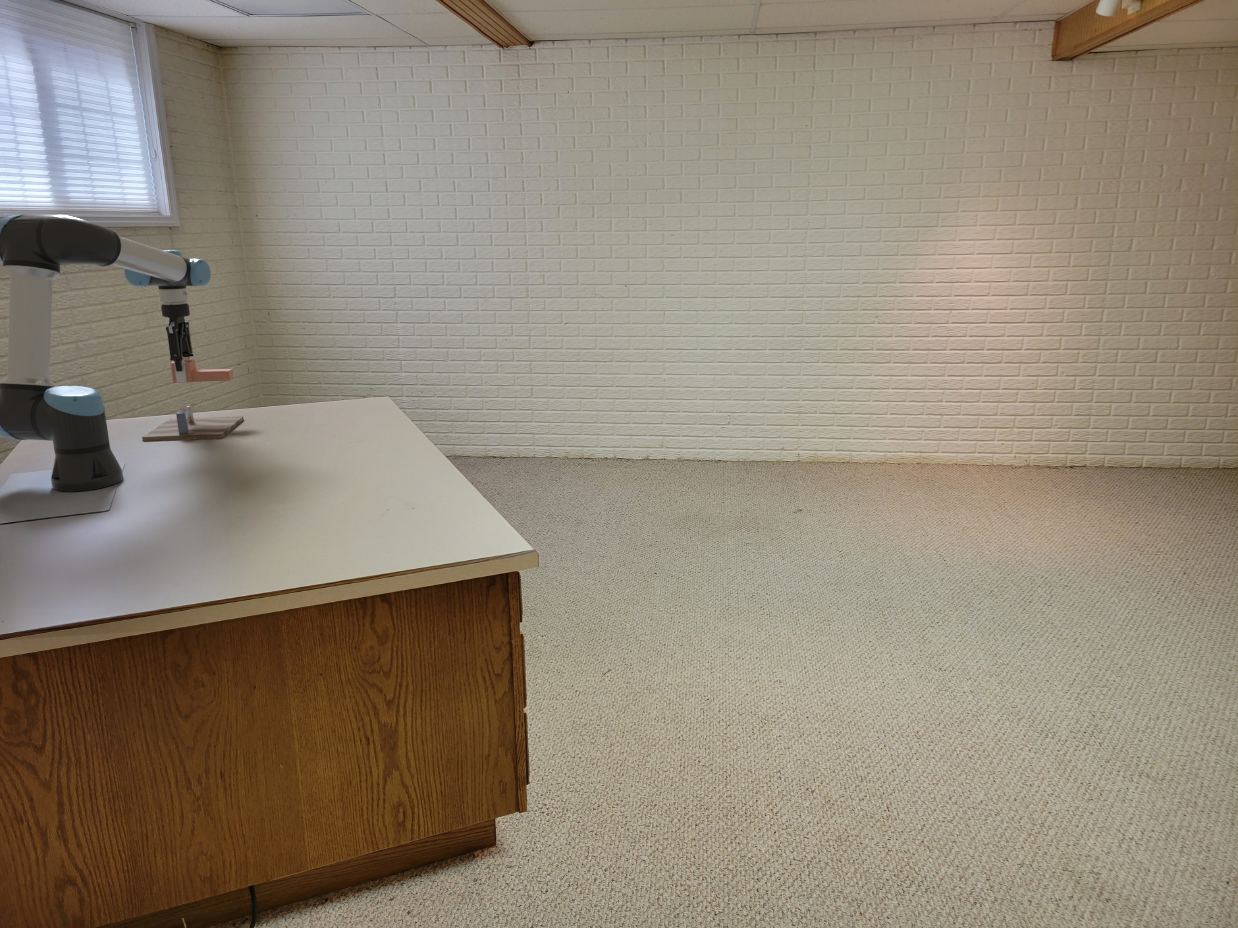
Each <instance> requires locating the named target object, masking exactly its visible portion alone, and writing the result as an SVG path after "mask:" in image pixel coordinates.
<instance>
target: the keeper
mask: <svg viewBox="0 0 1238 928" xmlns="http://www.w3.org/2000/svg"><path fill="white" fill-rule="evenodd" d="M187 414H188V409H186V408H184V409H178V410H177V412H176V413H175V416H176V419H177V424H178V431H179V434H188V433H189V430H188V422H187Z"/></svg>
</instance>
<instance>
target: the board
mask: <svg viewBox="0 0 1238 928" xmlns="http://www.w3.org/2000/svg"><path fill="white" fill-rule="evenodd" d="M193 418H194V422H193V423H188V430H189V433H188V434H179V431H178V424H177V418H169V419H167V420H166V421H164V422H163V423H162V424H160V425H158V426H157V427H155V428H153V430H150V431H148V433H146V434H145V435H143V436H142V437H141V438H142V442H151V441H153V442H155V441H156V442H157V441H177V440H178V441H179V440H180V441H181V440H204V439H205V440H209V439H210V440H211V439H223V438H224V437H226V436H227V435H228V434H229V433H230V432H231V431H232V430H234V429H235V428H236V427H237V426H238V425H240V424H241V423H242V422H244V420H245V419H244V416H220V417H217V416H216V417H193ZM187 422H188V421H187Z"/></svg>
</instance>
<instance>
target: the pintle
mask: <svg viewBox="0 0 1238 928" xmlns="http://www.w3.org/2000/svg"><path fill="white" fill-rule="evenodd" d="M185 409H188V414H187V421H188V423H193V422H194V418H195V417H194V411H193V406H192V405H186V406H185Z"/></svg>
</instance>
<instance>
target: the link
mask: <svg viewBox="0 0 1238 928" xmlns="http://www.w3.org/2000/svg"><path fill="white" fill-rule="evenodd" d="M184 363H185V371H186V378H187V382H186V383H196V382H198V383H199V382H200V383H201V382H229V381H231V380H233V379H234V371H233V368H217V369H197V364H196V359H191V360H184ZM170 370H171V378H172V383H174V384H178V383H181V384H183V383H184V382H177V380H176V373H175V366H174V361H171V362H170Z"/></svg>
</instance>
